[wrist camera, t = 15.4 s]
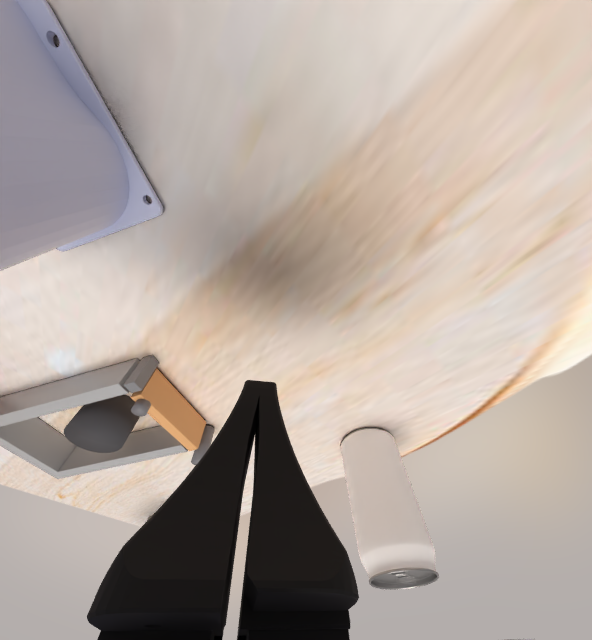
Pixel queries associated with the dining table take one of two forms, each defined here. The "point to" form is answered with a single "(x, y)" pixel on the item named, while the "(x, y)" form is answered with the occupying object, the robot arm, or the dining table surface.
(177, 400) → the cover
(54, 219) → the robot arm
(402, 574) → the can
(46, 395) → the grey frame
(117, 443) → the dark grey cylinder
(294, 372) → the dining table surface
